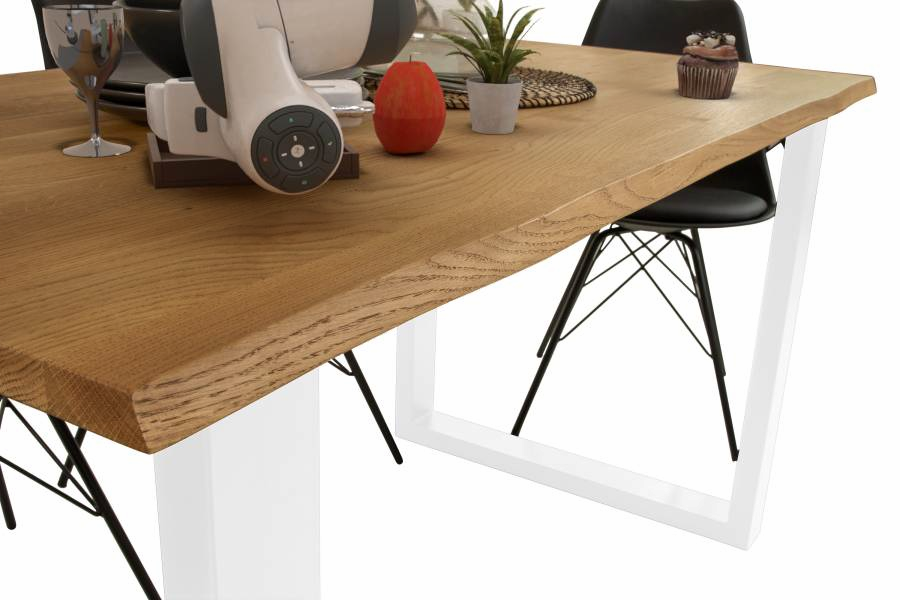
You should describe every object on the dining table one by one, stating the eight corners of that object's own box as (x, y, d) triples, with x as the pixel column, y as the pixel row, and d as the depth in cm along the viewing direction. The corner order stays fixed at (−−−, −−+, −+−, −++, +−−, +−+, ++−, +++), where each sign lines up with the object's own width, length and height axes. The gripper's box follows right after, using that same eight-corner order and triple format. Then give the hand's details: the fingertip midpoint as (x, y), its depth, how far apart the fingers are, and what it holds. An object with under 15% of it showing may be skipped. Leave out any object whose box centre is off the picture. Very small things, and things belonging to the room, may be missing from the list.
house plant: (493, 115, 137) (497, -10, 131) (573, 130, 128) (582, -4, 122) (417, 127, 127) (419, -8, 122) (499, 143, 118) (505, -1, 113)
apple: (417, 163, 107) (418, 61, 104) (356, 153, 111) (355, 54, 108) (458, 151, 114) (461, 54, 110) (399, 142, 118) (400, 48, 114)
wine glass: (118, 140, 115) (106, 3, 110) (146, 152, 109) (134, 9, 104) (48, 147, 110) (31, 5, 105) (73, 160, 105) (57, 11, 99)
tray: (155, 189, 94) (152, 161, 93) (148, 157, 107) (146, 132, 106) (359, 179, 100) (359, 153, 99) (329, 149, 113) (329, 126, 112)
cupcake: (747, 96, 159) (755, 31, 156) (713, 102, 153) (720, 34, 149) (695, 89, 166) (702, 26, 162) (661, 94, 159) (667, 29, 156)
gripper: (380, 77, 91) (347, 59, 104) (146, 82, 85) (141, 62, 98) (380, 145, 94) (348, 120, 106) (152, 155, 88) (146, 127, 100)
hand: (247, 92), depth 102 cm, fingers closed on cup, 6 cm apart
